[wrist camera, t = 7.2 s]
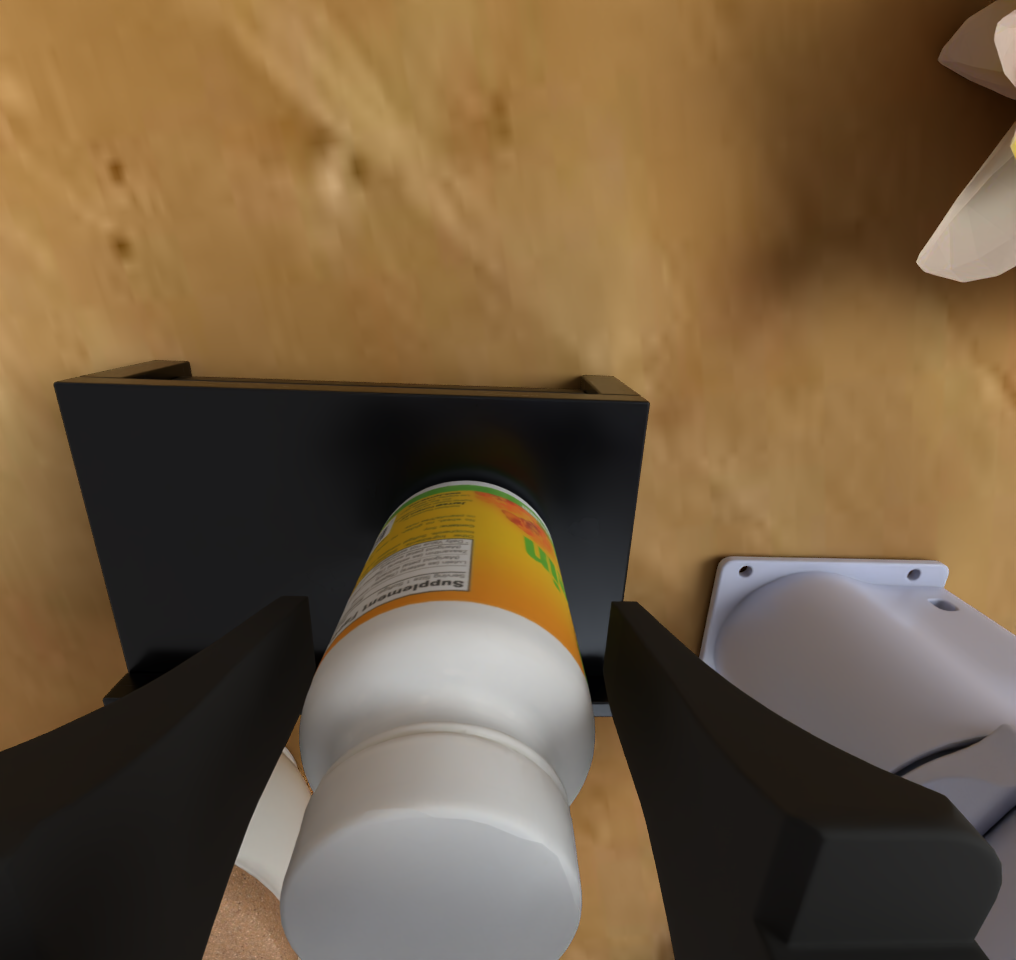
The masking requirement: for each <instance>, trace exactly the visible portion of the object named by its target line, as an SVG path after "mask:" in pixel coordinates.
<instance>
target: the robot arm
mask: <svg viewBox="0 0 1016 960" xmlns="http://www.w3.org/2000/svg"><path fill="white" fill-rule="evenodd" d="M744 566H747V569H746V570H745V571H744V572H740V573H739V570H740V569H741V568H742V567H744ZM911 570H912V572H911V573H910V574H909V575H908V573H909V572H910V571H911ZM948 574H949V570H948V567H947V566H945V565H944V564H942V563H941V562H939V561H935V560H893V559H844V558H794V557H745V556H730V557H726V558H724V559H722V560H721V561H720V562H719V564H718V567H717V572H716V577H715V582H714V586H713V591H712V596H711V601H710V606H709V611H708V616H707V621H706V626H705V631H704V636H703V641H702V646H701V651H700V656H699V657H698V656H696V655H695V654H694V653H693V652H692V651H691V650H689V649H688V648H687V647H686V646H685V645H684V644H683V643H681V642H680V641H679V640H678V639H677V638H676V637H675V636H674V635H672V634H671V633H670V632H669V631H668V630H667V629H666V628H665V627H664V626H663V625H662V624H661V623H659V622H658V621H657V620H656V619H655V618H654V617H653V616H652V615H651V614H650V613H649V612H648V611H647V610H645V609H644V608H643V607H642V606H641V605H640V604H639V603H637V602H627V601H611V609H610V616H609V624H608V632H607V640H606V648H605V656H604V664H603V675H604V680H605V686H606V691H607V696H608V701H609V706H610V711H611V714H612V717H613V720H614V723H615V727H616V730H617V733H618V736H619V739H620V742H621V745H622V748H623V751H624V754H625V757H626V760H627V763H628V766H629V769H630V772H631V775H632V778H633V781H634V784H635V788H636V791H637V794H638V797H639V800H640V803H641V806H642V810H643V814H644V817H645V821H646V824H647V829H648V833H649V838H650V842H651V846H652V851H653V855H654V860H655V864H656V869H657V873H658V878H659V883H660V887H661V892H662V897H663V902H664V906H665V911H666V916H667V921H668V926H669V931H670V936H671V941H672V946H673V952H674V957H675V960H1016V636H1015V635H1014V634H1012V633H1011V632H1009V631H1008V630H1006V629H1005V628H1003V627H1002V626H1000V625H999V624H997V623H996V622H994V621H993V620H991V619H990V618H988V617H987V616H985V615H984V614H982V613H981V612H979V611H978V610H976V609H975V608H973V607H972V606H970V605H968V604H967V603H965V602H964V601H962V600H961V599H959V598H958V597H956V596H955V595H953V594H952V593H950V592H949V591H947V590H946V589H944V585H945V582H946V580H947V577H948ZM315 669H316V664H315V654H314V645H313V636H312V627H311V617H310V608H309V599H308V596H281V597H279V598H278V599H276V600H275V601H273V602H271V603H270V604H269V605H267V606H266V607H264V608H263V609H261V610H260V611H258V612H257V613H256V614H254V615H253V616H251V617H250V618H249V619H247V620H246V621H244V622H243V623H241V624H240V625H239V626H237V627H236V628H234V629H233V630H231V631H230V632H228V633H227V634H226V635H224V636H223V637H221V638H220V639H218V640H217V641H215V642H214V643H213V644H211V645H210V646H208V647H206V648H205V649H203V650H202V651H200V652H199V653H197V654H195V655H194V656H192V657H191V658H189V659H188V660H186V661H184V662H183V663H181V664H180V665H178V666H177V667H175V668H173V669H172V670H170V671H169V672H167V673H165V674H164V675H162V676H160V677H158V678H157V679H155V680H153V681H151V682H150V683H148V684H146V685H144V686H142V687H141V688H139V689H137V690H135V691H133V692H131V693H129V694H128V695H126V696H124V697H122V698H120V699H118V700H116V701H114V702H112V703H110V704H108V705H106V706H104V707H102V708H100V709H98V710H96V711H93V712H91V713H89V714H87V715H85V716H83V717H81V718H78V719H76V720H74V721H72V722H70V723H68V724H66V725H63V726H61V727H59V728H57V729H55V730H53V731H50V732H48V733H46V734H43V735H41V736H38V737H36V738H34V739H31V740H29V741H26V742H24V743H21V744H19V745H17V746H14V747H11V748H9V749H6V750H4V751H1V752H0V960H202V958H203V955H204V952H205V949H206V946H207V943H208V940H209V937H210V933H211V930H212V927H213V924H214V922H215V919H216V916H217V913H218V910H219V907H220V904H221V901H222V898H223V895H224V892H225V889H226V887H227V884H228V881H229V878H230V875H231V872H232V869H233V867H234V864H235V861H236V858H237V856H238V853H239V850H240V847H241V845H242V842H243V839H244V836H245V834H246V831H247V828H248V825H249V823H250V820H251V818H252V816H253V813H254V811H255V809H256V807H257V804H258V802H259V800H260V798H261V795H262V793H263V791H264V789H265V787H266V785H267V783H268V781H269V779H270V777H271V774H272V772H273V770H274V768H275V766H276V764H277V762H278V760H279V758H280V756H281V754H282V751H283V749H284V747H285V745H286V743H287V741H288V739H289V737H290V735H291V732H292V730H293V728H294V726H295V724H296V722H297V720H298V717H299V715H300V713H301V711H302V709H303V706H304V703H305V700H306V696H307V694H308V691H309V688H310V685H311V682H312V678H313V675H314V672H315Z"/></svg>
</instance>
